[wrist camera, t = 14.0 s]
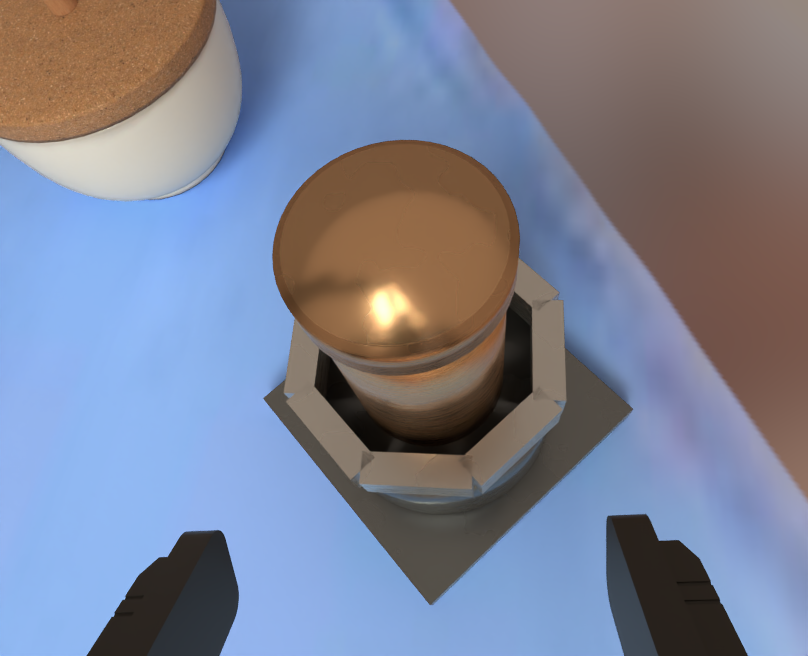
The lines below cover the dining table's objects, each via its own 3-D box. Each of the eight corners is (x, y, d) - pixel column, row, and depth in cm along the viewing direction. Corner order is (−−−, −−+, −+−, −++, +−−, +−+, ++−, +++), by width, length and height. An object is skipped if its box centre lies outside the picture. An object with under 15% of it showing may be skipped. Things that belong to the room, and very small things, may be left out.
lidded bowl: (78, 79, 39) (-68, -102, 29) (277, 47, 38) (196, -154, 28) (44, 257, 34) (-148, 111, 24) (272, 226, 33) (172, 60, 23)
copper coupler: (321, 373, 22) (224, 239, 14) (434, 276, 23) (403, 99, 15) (424, 487, 20) (380, 409, 12) (543, 376, 21) (574, 234, 13)
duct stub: (270, 405, 29) (199, 343, 22) (449, 253, 30) (435, 153, 24) (432, 605, 24) (407, 606, 18) (628, 415, 26) (674, 350, 19)
